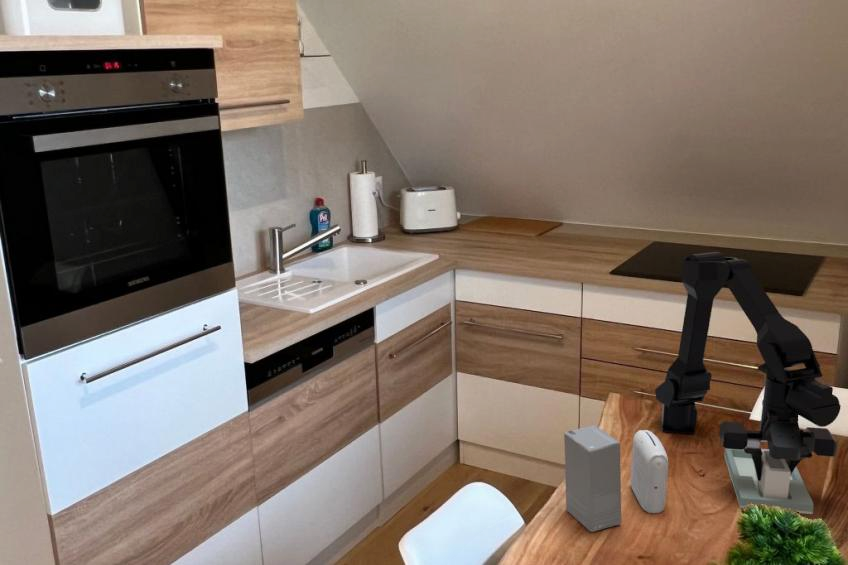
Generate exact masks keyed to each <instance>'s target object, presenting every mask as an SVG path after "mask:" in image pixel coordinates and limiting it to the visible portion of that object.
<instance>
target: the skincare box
mask: <svg viewBox="0 0 848 565" xmlns="http://www.w3.org/2000/svg"><path fill="white" fill-rule="evenodd" d="M563 436H564V437H563V438H564V439H563V440H564V442H563V443H564V468H565V470H564V471H565V475H564V476H565V507H566V508H565V510H566V511H567V512H568V513H569V514H570V515H571V516H572V517H573V518H574V519H575V520H577V521H578V522H579V523H580V524H581V525H582V526H583V527H585V528H586V529H587V531H589V532H590V533H594V532H597V531H600V530H603V529H606V528H611V527H615V526H619V525H621V523H622V490H621V489H622V482H621V477H622V476H621V475H622V474H621V473H622V472H621V470H622V469H621V442H620V441H618V440H617V439H616V438H614V437H613V436H611V435H609V433H607V432H606V431H604V430H603V429H602V428H600V427H599V426H597V425H596V424H592V425H588V426H584V427H581V428H577V429H573V430H568V431H565V432H563Z"/></svg>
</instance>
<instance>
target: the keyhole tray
mask: <svg viewBox="0 0 848 565" xmlns="http://www.w3.org/2000/svg"><path fill="white" fill-rule="evenodd" d="M723 457H724V460H725V464H726V467H727V469H728V473H729V477H730V479H731V483H732V486H733V489H734V492H735V496H736V499H737V502H738V505H739V508H740V509H745V508H744V507H745V506H746V505H747V504H751V503H752V504H765V505H768V506H773V505H774V506H779V507H782V508H791V509H793V510H795V511H797V512H799V513H798V514H803V515H805V514H806V515H813V513H814V505H815V504H814V501H813V500H812V497H811V495H810V494H809V491H808V489H807V487H806V483H804V480H803V478H802V476H801V473H800V471H799V469H798V467H797V466H796V467H795V469H794V471H793V472H792V474H791V476H790V482H789V491H788V499H781V498H769V497H763V495H762V493H761V490H760V487H759V485H758V482H757V479H756V476H755V467H754V464H753V460H752V456H751V454H747V453H745V452H744V450H743V449H742V450H739V449H727V448H724V455H723Z"/></svg>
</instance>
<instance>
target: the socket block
mask: <svg viewBox="0 0 848 565" xmlns="http://www.w3.org/2000/svg"><path fill="white" fill-rule="evenodd" d="M761 450H762V453H763V454H762V457H761V471H762V474H761V480H760V481H758V479H757V475H756V471H755V476H756V479H757V482H758V485H759V487H760V490H761V493H762V495H763V497H769V498H781V499H788V491H789V482H790V474H791V472H790V469H789V467H788V465H787V463H786V460H785V459H774V458H772V457H771V456H770V454H769V448H767V449H765V448H761Z"/></svg>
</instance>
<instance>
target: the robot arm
mask: <svg viewBox="0 0 848 565" xmlns="http://www.w3.org/2000/svg"><path fill="white" fill-rule="evenodd" d="M681 283H682V285H683V286H684V288H685V291H686V293H687V295H686V296H687V297H686V303H685V310H684V315H683V316H684V317H683V323H682V329H681V335H680V342H679V348H678V355H677V357H676V359H675V360H674V361H673V363H672V364H671V365H670V366H669V367H668V369H667V373H666V376H665V380H664V382H661V384H660V385H658V386H656V388H655V389H654V392H655V400H657V401H659V403H661V404H662V408H661V409H662V410H661V417H660V418H659V419H660V425H661V426H660V427H661V431H662V432H663V433H671V434H672V433H676V434H686V435H687V434H688V435H694V434H695V428H697V420H698V408H697V405H696V403H701V402H703V401H704V398H705V396H706V395H707V394H708V391H710V390H711V380H712V377H713V376H712V372H709V371H708V369H707V367H706V365H705V362H704V358H705V352H706V345H707V342H708V335H709V329H710V322H711V317H712V311H713V304H714V299H715V297H716V296H717V295H718V294H719V293H720V291H721V290H722V289H723V288H724V286H725V285H726V286H727V287H728V289H729V291H730V292H731V294H732V295H733V298H735V300H736V302H737V303H738V305H739V306H740V308H741V310H742V311H743V312H744V314H745V316H746V317H747V319H748V321H749V322H750V323H751V326H753V328H754V330H755V332H756V347H757V349H758V350H759V353H760V356H761V357H762V359H763V361H764V363H762V364H761V365H758V366H757V370H758V371H759V372H761V373H763V374H765V381H764V382H765V383H764V391H763V399H762V401H761V406H762V408H761V416H760V421H759V427H760V428H759V430H751V429H750V430H749V429H746V427H745V425H744V422H737V421H723V422H722V423H721V424H719V431H718V435H719V438H720V441H721V444H722V448H724V449H725V448H727V449H739V450H742V449H743V450H744V452H745V453H747V454H751V456H752V460H753V464H754V467H755V471H756V475H757V479H758V481H760V480H761V474H762V471H761V457H762V454H763V453H762V450H761V449H762V448H761V443H767V446H768V449H769V454H770V456H771V457H772V458H774V459H785V460H786V463H787V465H788V467H789V469H790V472H791V474H792V472H793V471H794V469H795V467H797V466H798V465H799V463H800V462H801V461H803V460H805V459H811V458H813V454H812V453H814V454H816V455H817V456H818V457H819V456H820V457H835V456H836V455H837V450H838V447H837V446H838V445H837V444H838V443H837V440H836V439H835V438H834V436H833V434H832V433H831V431H830V430H829V429H828V428H825V427H827V426H830V425H831V424H832V423H834V422H835V420H836V419H837V418H838V416H839V414H840V411H841V404H840V400H839V398H838V397H837V396H836V395H835V394H833V390H834V388H833V386H831V385H829V384H827V383H826V384H825V383H823V382H821V381H819V380H817V379H821V378H823V373H822V370H821V368H820V367H821V365H820V363H819V362H818V359H817V357H816V354H815V352H814V349H813V345H812V342H811V341H810V339H809V337H808V336H807V335H806V334H805V333H804V332H803V331H802V329H800V327H799V326H798V325H796V324H795V323H793V322H791V321H790V320H787V319H785V318H784V316H782V314H781V313H780V312H779V310H778V309H777V307H776V306H775V304H774V302H773V301H772V300H771V298H770V297H769V294H767V292H766V291H765V289H764V288H763V287H762V285H761V283H760V282H759V280H758V279H757V278H756V276H755V275H754V273H753V271H752V266H751V264H750V262H749V261H748V260H746V259H743V258H737V257H733V256H731V257H730V256H725V255H724V254H723V253H721V252H720V251H713V252H701V253H695V254H689V255H686V257H684V259H683V261H682V265H681ZM799 366H804V367H803V368H798V369H790V368H793V367H799ZM799 417H801V418H803V419H805V420H807V421H808V422H810V423H812V424H814V425H815V426H817V427H808V426H807V427H806V428H805V429H800V425H799ZM791 474H790V476H791Z"/></svg>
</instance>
